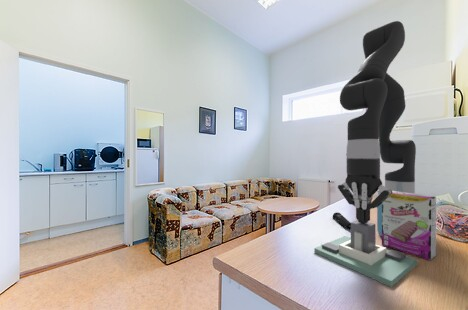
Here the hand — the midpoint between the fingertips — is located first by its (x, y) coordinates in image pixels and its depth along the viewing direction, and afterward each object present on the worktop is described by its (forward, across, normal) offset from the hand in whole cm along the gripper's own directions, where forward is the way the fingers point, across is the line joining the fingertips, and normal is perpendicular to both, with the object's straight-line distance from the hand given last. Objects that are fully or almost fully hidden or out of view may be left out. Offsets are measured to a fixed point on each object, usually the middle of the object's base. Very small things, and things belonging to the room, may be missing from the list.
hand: (362, 222), depth 54 cm
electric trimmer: (+10, +18, -24) cm, 31 cm away
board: (+9, 0, 0) cm, 9 cm away
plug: (+8, 0, 0) cm, 8 cm away
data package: (+10, -1, -23) cm, 25 cm away
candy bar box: (+10, -5, -15) cm, 19 cm away
